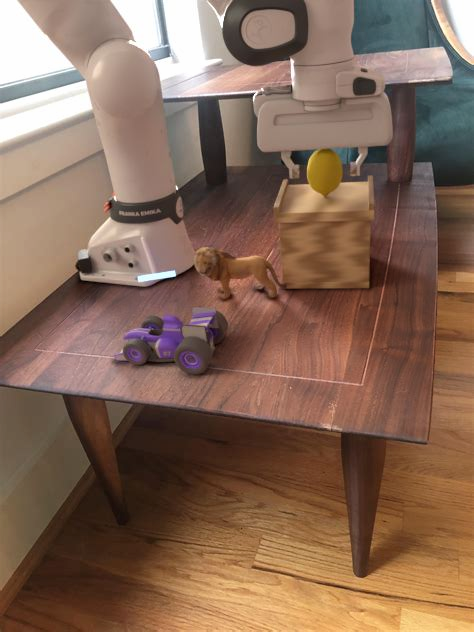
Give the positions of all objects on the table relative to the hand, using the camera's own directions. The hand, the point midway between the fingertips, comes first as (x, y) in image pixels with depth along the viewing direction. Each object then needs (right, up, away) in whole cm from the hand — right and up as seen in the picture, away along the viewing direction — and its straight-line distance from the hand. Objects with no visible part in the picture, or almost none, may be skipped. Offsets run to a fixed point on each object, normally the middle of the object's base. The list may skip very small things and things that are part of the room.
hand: (324, 176), depth 86 cm
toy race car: (-23, -27, -7) cm, 37 cm away
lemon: (0, -3, +2) cm, 4 cm away
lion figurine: (-13, -19, +5) cm, 24 cm away
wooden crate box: (+2, -14, +9) cm, 17 cm away
